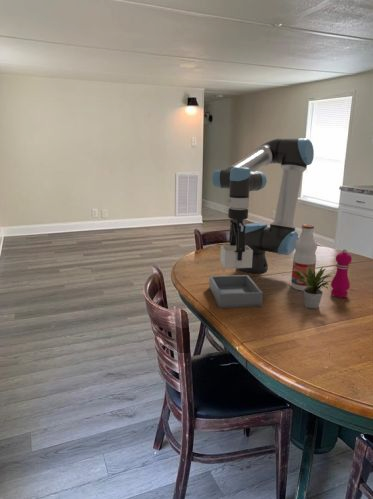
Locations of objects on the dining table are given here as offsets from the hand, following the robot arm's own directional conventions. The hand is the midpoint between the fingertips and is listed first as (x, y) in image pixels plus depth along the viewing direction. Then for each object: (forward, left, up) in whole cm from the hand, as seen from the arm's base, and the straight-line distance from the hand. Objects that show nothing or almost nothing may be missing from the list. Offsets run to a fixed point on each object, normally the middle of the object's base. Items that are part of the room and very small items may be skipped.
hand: (235, 264), depth 150 cm
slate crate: (0, 0, -14) cm, 14 cm away
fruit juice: (-33, -8, -14) cm, 36 cm away
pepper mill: (-45, +2, -14) cm, 47 cm away
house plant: (-28, +13, -14) cm, 34 cm away
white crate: (0, 0, 0) cm, 0 cm away
